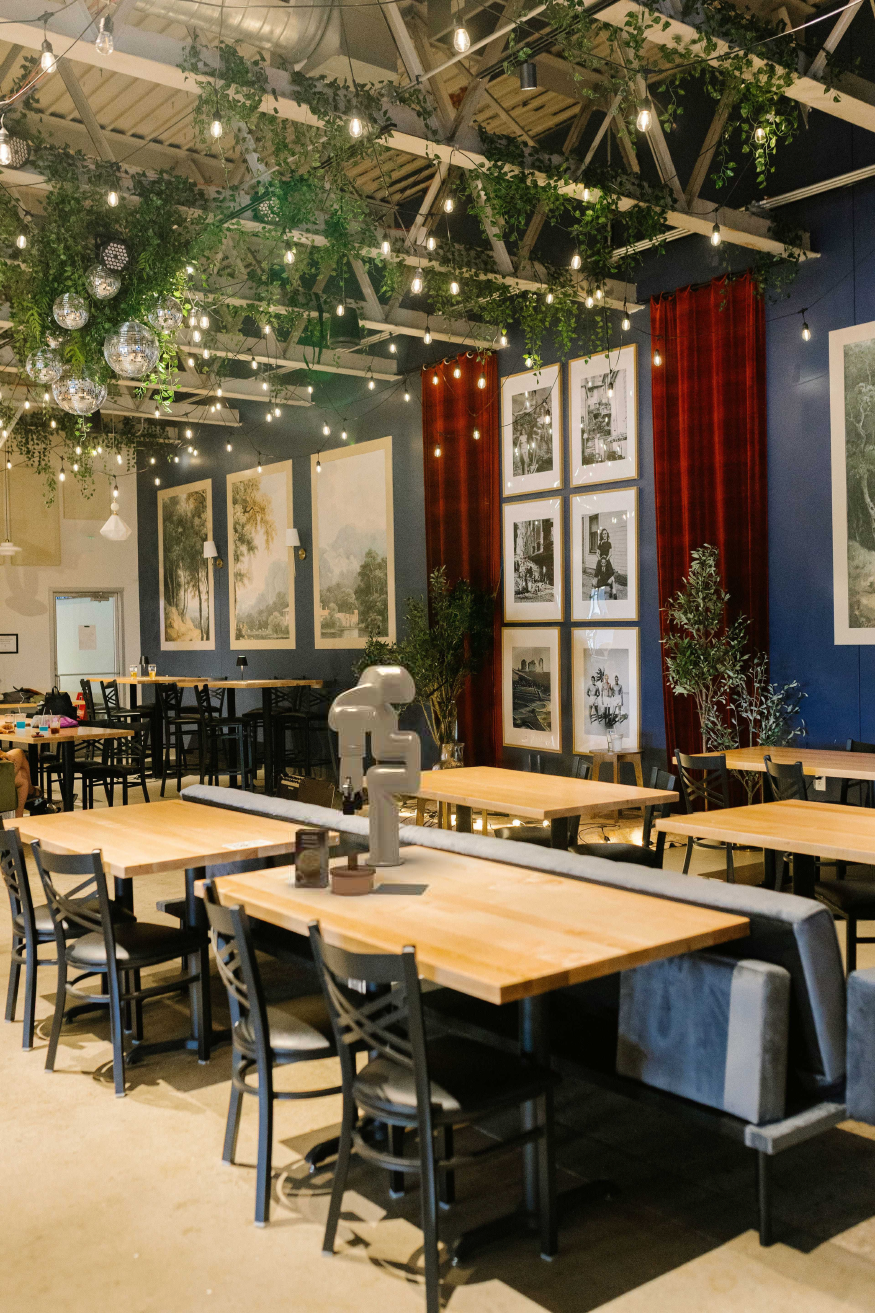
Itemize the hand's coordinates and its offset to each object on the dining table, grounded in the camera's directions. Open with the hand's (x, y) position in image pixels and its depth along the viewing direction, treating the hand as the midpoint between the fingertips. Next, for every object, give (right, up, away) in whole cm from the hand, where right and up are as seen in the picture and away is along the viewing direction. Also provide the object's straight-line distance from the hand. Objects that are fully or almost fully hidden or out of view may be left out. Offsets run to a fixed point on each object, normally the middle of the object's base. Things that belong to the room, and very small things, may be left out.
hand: (352, 812), depth 299 cm
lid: (0, -17, -1) cm, 17 cm away
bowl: (0, -22, -1) cm, 22 cm away
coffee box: (-13, -23, +9) cm, 28 cm away
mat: (+13, -22, +1) cm, 26 cm away
